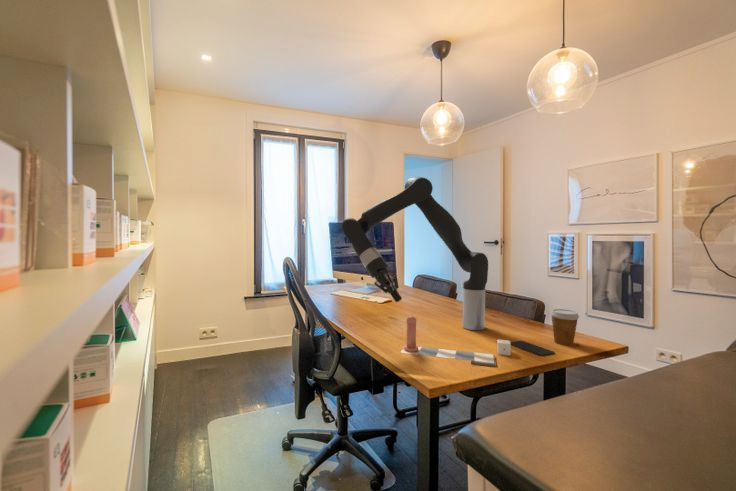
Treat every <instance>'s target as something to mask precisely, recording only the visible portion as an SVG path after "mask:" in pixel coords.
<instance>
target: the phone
mask: <svg viewBox="0 0 736 491" xmlns="http://www.w3.org/2000/svg"><path fill="white" fill-rule="evenodd" d="M510 343H511V347H512V346H513V347H515V348H517V349H520V350H523V351H525V352H528V353H531V354H534V355H535V356H539V357H546V356H551V355H552V356H553V355H555V354H556V352H555V351H554V350H550V349H547V348H545V347H542V346H539V345H536V344H533V343H530V342H527V341H524V340H516V341H515V340H514V341H510Z"/></svg>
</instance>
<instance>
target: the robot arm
mask: <svg viewBox="0 0 736 491" xmlns="http://www.w3.org/2000/svg"><path fill="white" fill-rule="evenodd" d="M433 189H434V188H433V184H432V182H431V181H430V180H429V179H428V178H426V177H422V176H421V177H420V176H413V177H410V178H408V179H407V180H406V182H405V185H404V190H403V191H401V192H399V193H397V194H396V195H393V196H392V197H389V198H386V199H385V200H382V201H379V202H378V203H376V204H374V205H373V206H371V207H369V208H368V209H366V210H364V211H362V214H361V217H360V218H359V219H356V218H354V217H346V218H345V219H344V220H343V221H342V223H341V227H340V228H341V230H342V233H343V235H344V237H345V239H347V240H348V241H349V243H351V245H352V248H353V250H354V252H355V253H356V255H357V256H358V258H359V259H360V261H361V263H362V265H363V267H364V268H365V270H366V271H367V273H368V274H369V276H370V277H371V278H372V279H375V282H374V283H373V284H374V285H375V286H376V287H377V288H378V289H380V290H381V291H383V293H385V294H387V293H388V294H389V295H390V296H391V297H392V299H393V300H394V302H395V303H399V302H400V301H401V300H402V299H403V298H402V296H401V295H400V294H399V292H398V289H399V288H400V287H399V282H398V278H397V276H394V277H393V276H392V275H391V273H390V272H389V271H388V269H389V265H388V264H387V262H386V261H385V259H384V258H383V256H382V255H381V253H380V251H378V249H377V248H376V247H375V246H374V245H373V243H372V241H371V240H370V239H369V238H368V236H367V235H366V234H367V233H368V232H369V231H370V230H371V229H372V228H374V227H375V226H376V225H378V224H380V223H381V222H384V221H385V220H387V219H388V218H390V217H392V216H393V215H395V214H396V213H398V212H401V211H402V210H404V209H406V208H408V207H411V206H412V205H415V206H416V207H418V209H419V210H420V211H421V212H422V214H423V215H424V216H425V219H427V221H428V223H429V224H430V226H431V227H432V228H433V230H434V231H435V232H436V234H437V235H438V237H439V238H440V239H441V240H442V241H443V243H444V244H445V246H446V247H447V248H448V249H449V250H450V252H451V254H452V255H453V256H454V258H455V260H456V261H457V263H458V265H459V267H460V268H461V269H462V270H463V271H465V272H466V273H469V279H468V280H465V281H464V282H463V284H462V286H463V288H462V292H463V294H462V296H463V297H462V298H463V299H462V328H464V329H466V330H469V331H482V330H485V323H486V322H485V321H486V320H485V318H486V285H487V283H488V276H489V260H488V257H487V255H486V254H485V253H483V252H479V251H478V252H477V251H475V252H474V251H471V250H470V249H469V248H468V247H467V245H466V244H465V242H464V241H463V236H462V229H461V227H460V225H459V223H458V222H457V221H456V219H455V218H454V217H453V216H452V214H450V212H449V211H448V210H447V209H446V208H444V206H442V205H441V204H440V203H438V202H437V200H436V199H435V197H433V195H432V193H433Z"/></svg>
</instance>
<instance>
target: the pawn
mask: <svg viewBox="0 0 736 491" xmlns="http://www.w3.org/2000/svg"><path fill="white" fill-rule="evenodd" d="M418 347H419V346H418V345H417V317H415V316H414V315H409V316H408V317H407V318H406V344H405V345H404V346H403V348H404V350H405V351H407V352H417V351H418Z"/></svg>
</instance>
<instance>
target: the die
mask: <svg viewBox="0 0 736 491" xmlns="http://www.w3.org/2000/svg"><path fill="white" fill-rule="evenodd" d="M496 342H497V346H496V347H497V350H496V351H497V354H498V355H502V356H511V351H512V350H511V347H512V345H511V343H510V342H511V341H510V340H508V339H507V340H506V339H497V341H496Z"/></svg>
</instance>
